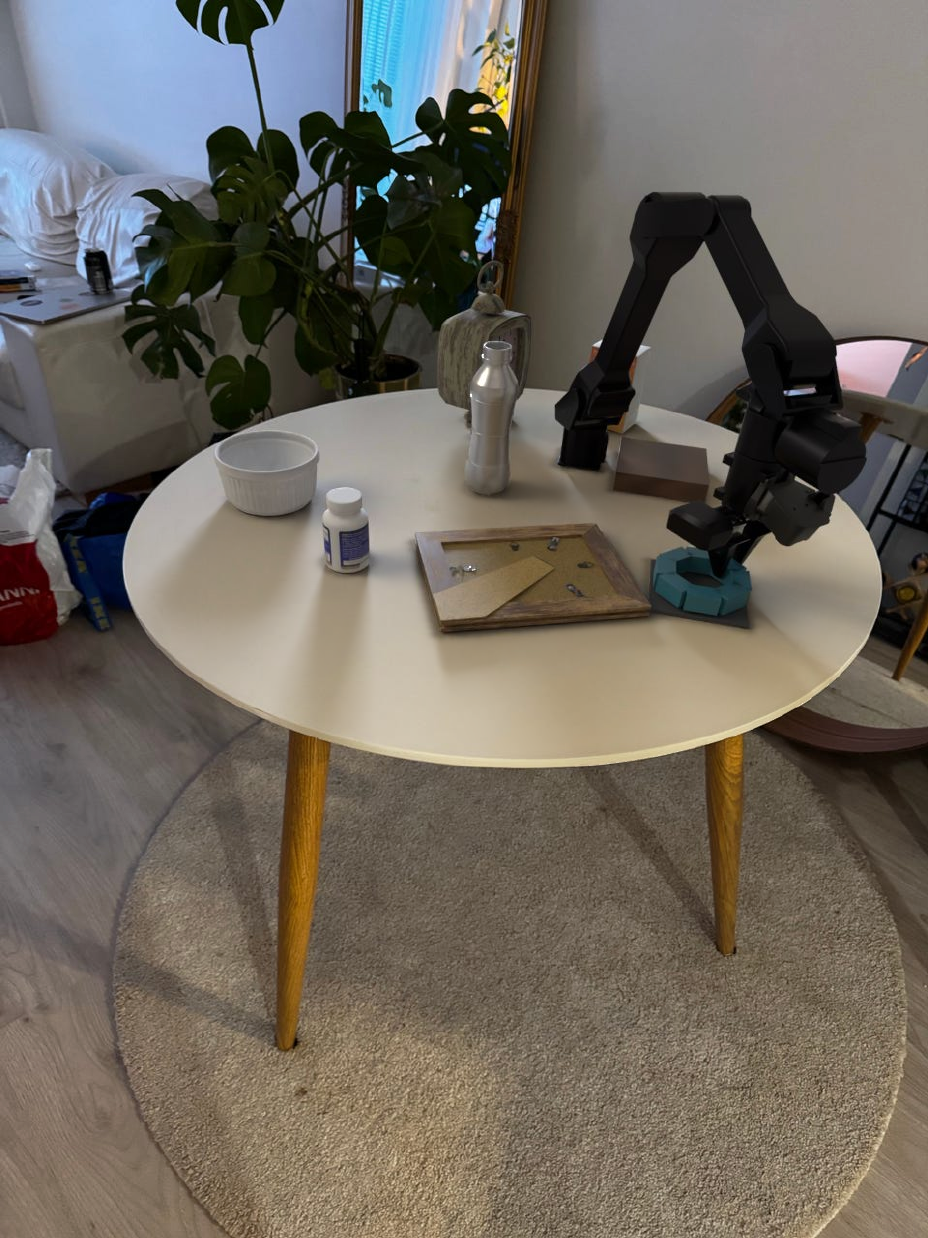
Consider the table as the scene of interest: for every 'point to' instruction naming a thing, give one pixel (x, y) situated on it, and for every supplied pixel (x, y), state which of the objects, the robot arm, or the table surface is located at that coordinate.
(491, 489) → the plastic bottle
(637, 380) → the small box
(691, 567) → the ring
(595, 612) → the picture frame
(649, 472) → the platform
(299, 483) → the ramekin
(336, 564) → the pill bottle
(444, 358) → the tabletop clock
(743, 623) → the mat
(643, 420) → the table surface
